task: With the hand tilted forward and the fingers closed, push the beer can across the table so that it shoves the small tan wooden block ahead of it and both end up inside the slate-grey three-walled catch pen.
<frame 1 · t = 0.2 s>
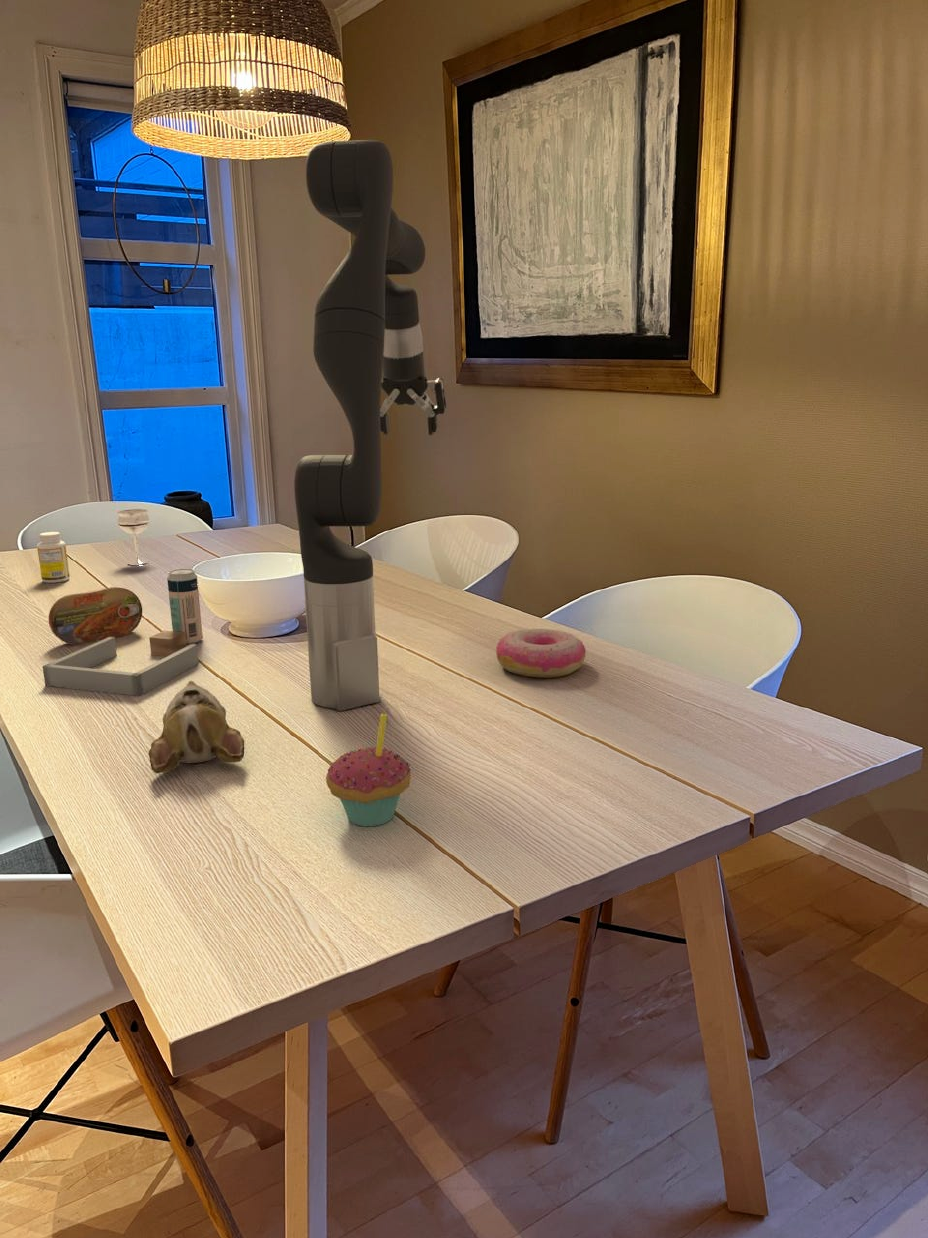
hand: (409, 433, 176), 31 cm above the table, fingers open, 8 cm apart
tin: (98, 639, 160), on the table
wineglass: (138, 564, 217), on the table
catch pen: (124, 674, 142), on the table
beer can: (188, 642, 157), on the table
cupcake: (370, 818, 97), on the table
tan wooden block: (169, 652, 152), on the table
supplement bottle: (56, 581, 202), on the table
donut: (540, 669, 142), on the table
ceramic sculpture: (198, 759, 113), on the table
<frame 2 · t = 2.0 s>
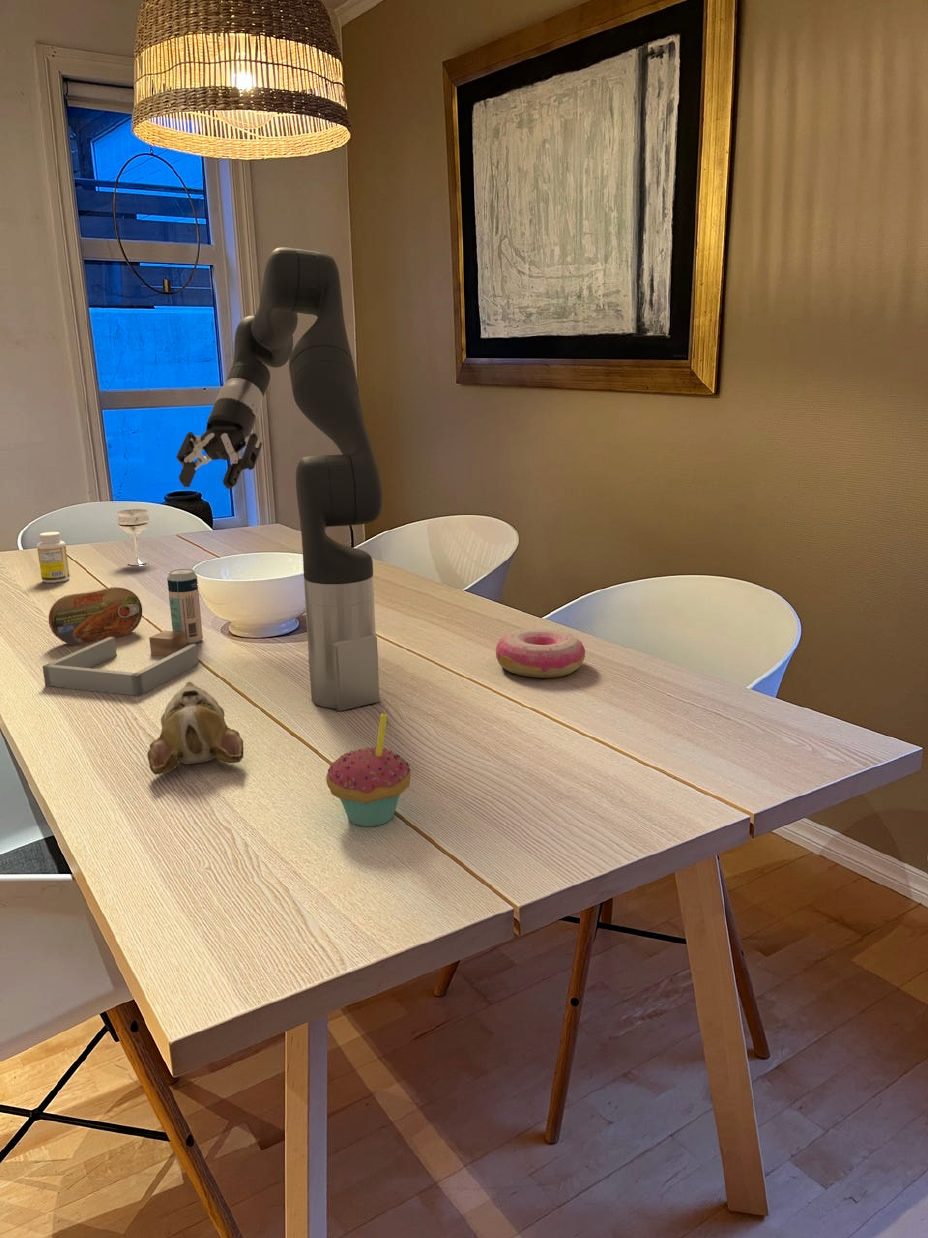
hand: (205, 485, 159), 25 cm above the table, fingers open, 8 cm apart
nothing on the table moved.
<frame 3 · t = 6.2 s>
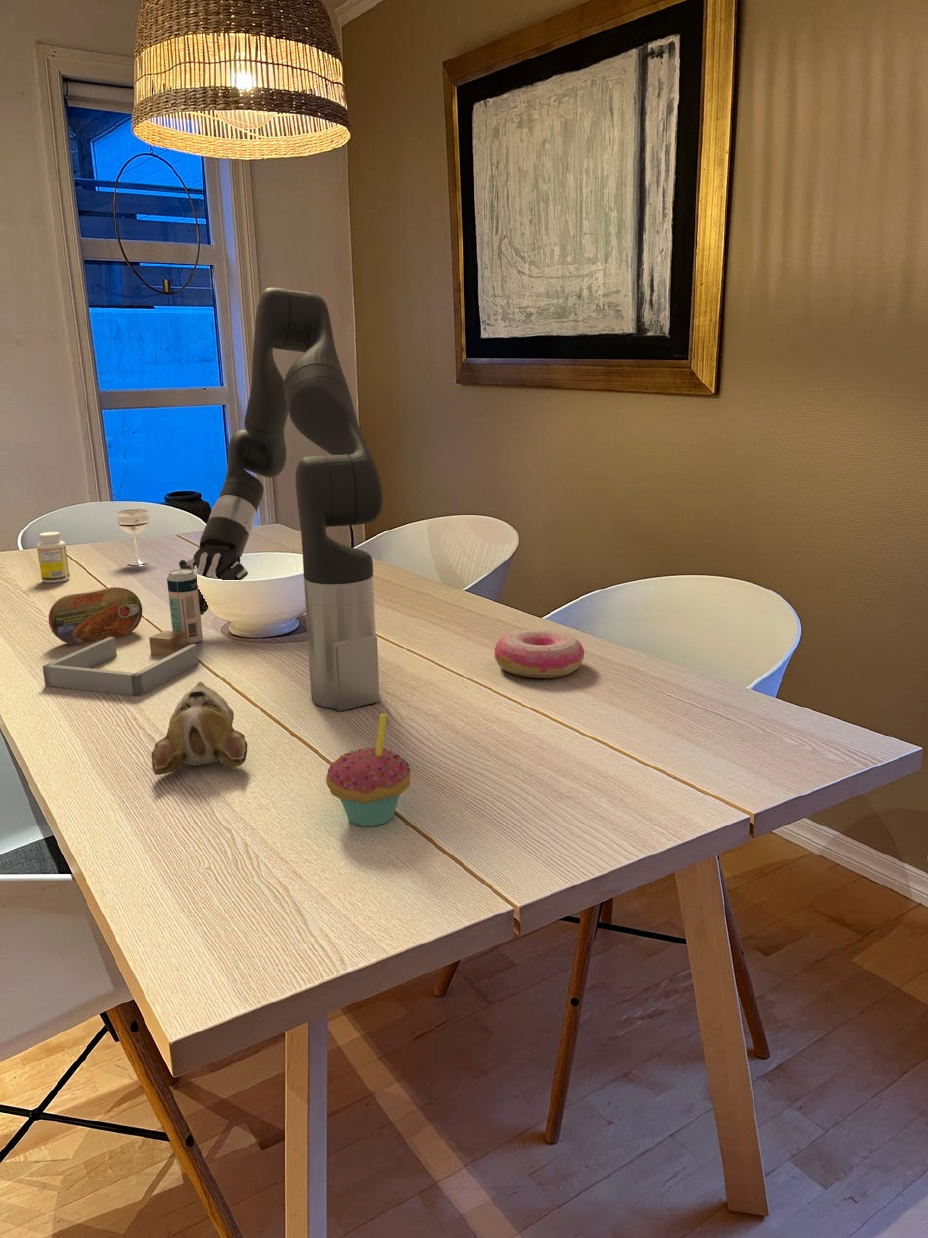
hand: (196, 612, 159), 4 cm above the table, fingers closed
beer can: (188, 642, 157), on the table, touching gripper
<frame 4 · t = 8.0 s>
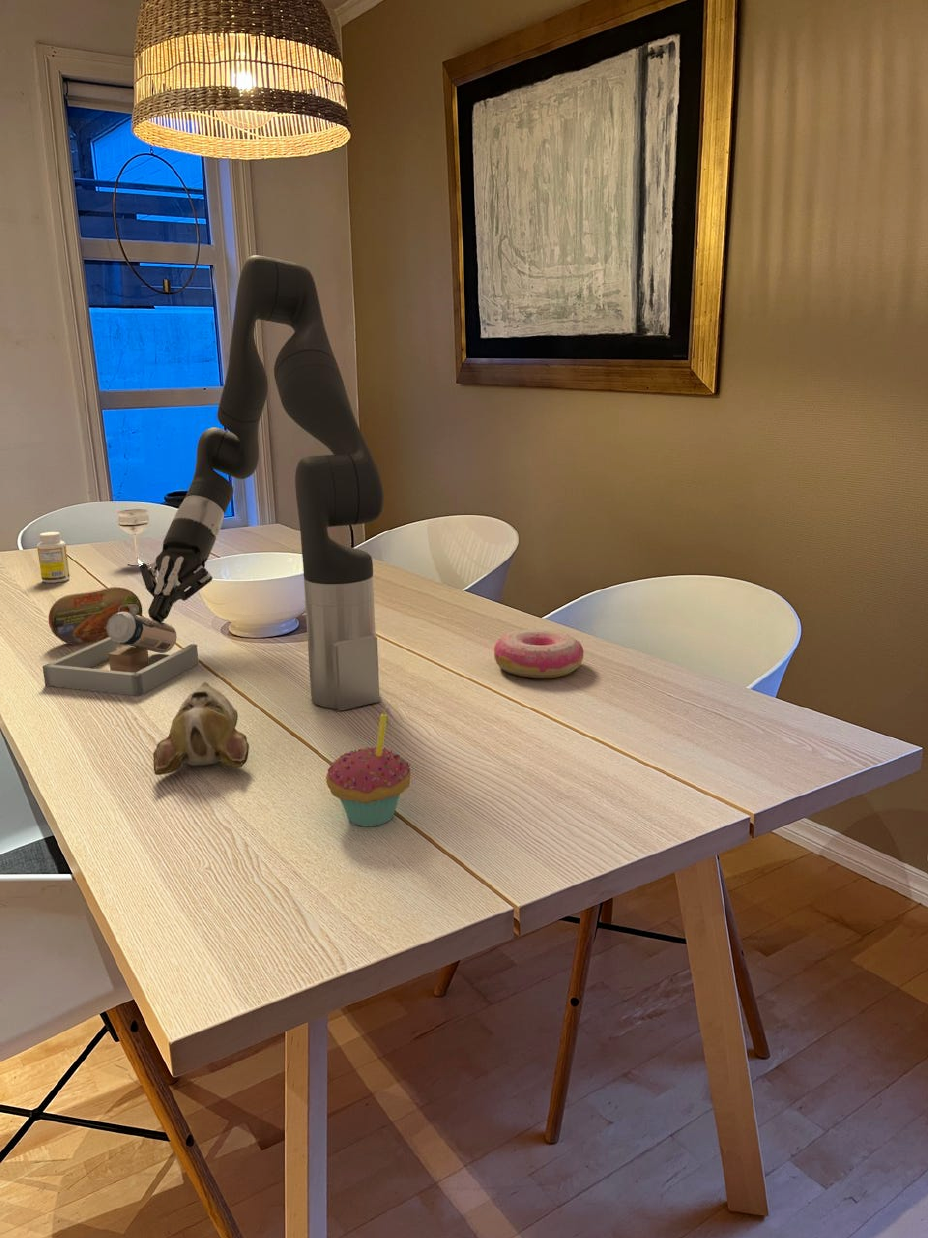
hand: (155, 619, 149), 6 cm above the table, fingers closed
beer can: (166, 638, 152), point 2 cm above the table, touching gripper, tan wooden block
tan wooden block: (130, 669, 145), on the table, touching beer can
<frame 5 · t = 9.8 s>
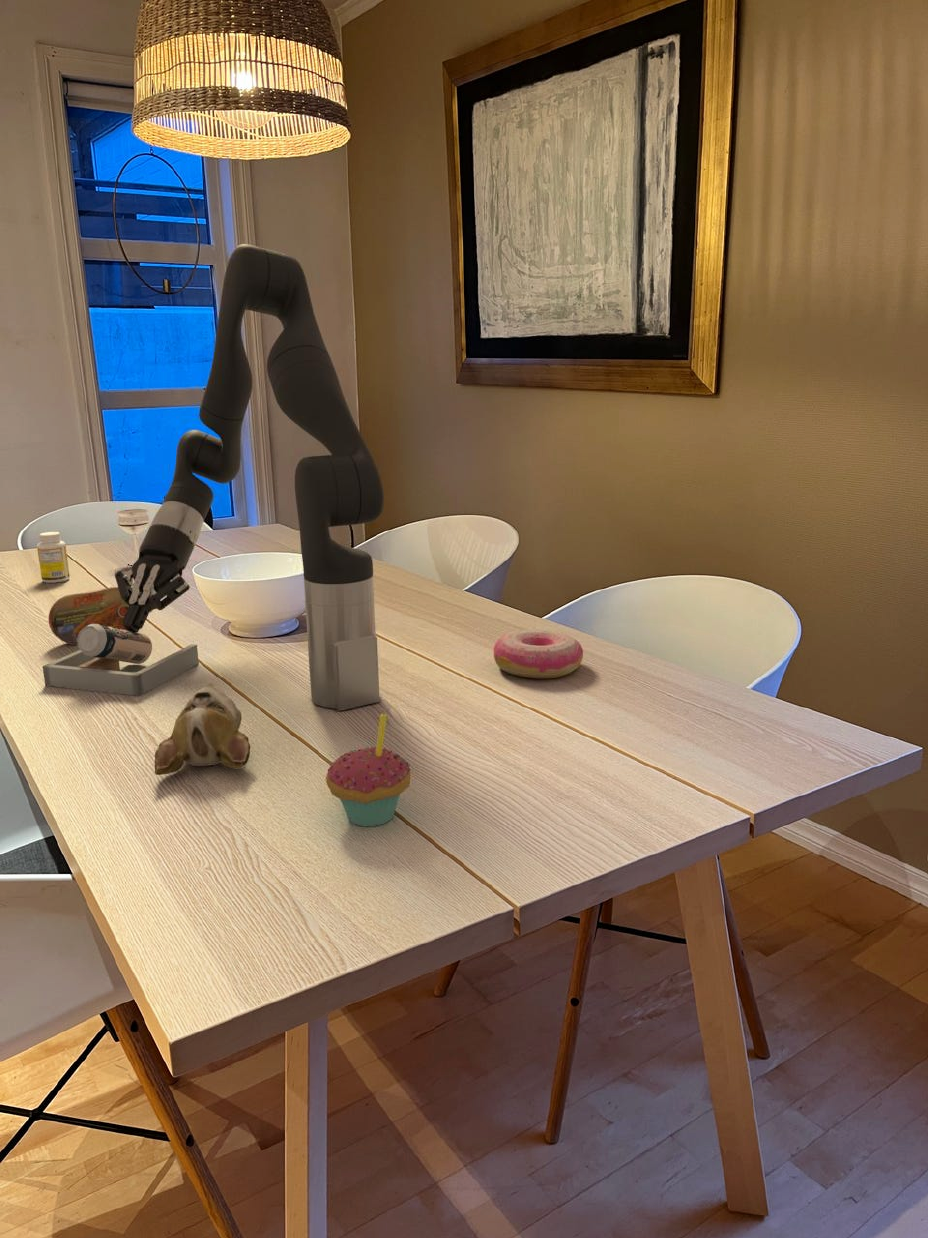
hand: (130, 629, 144), 6 cm above the table, fingers closed
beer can: (141, 649, 147), point 2 cm above the table, touching gripper, tan wooden block
tan wooden block: (100, 682, 139), on the table, touching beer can
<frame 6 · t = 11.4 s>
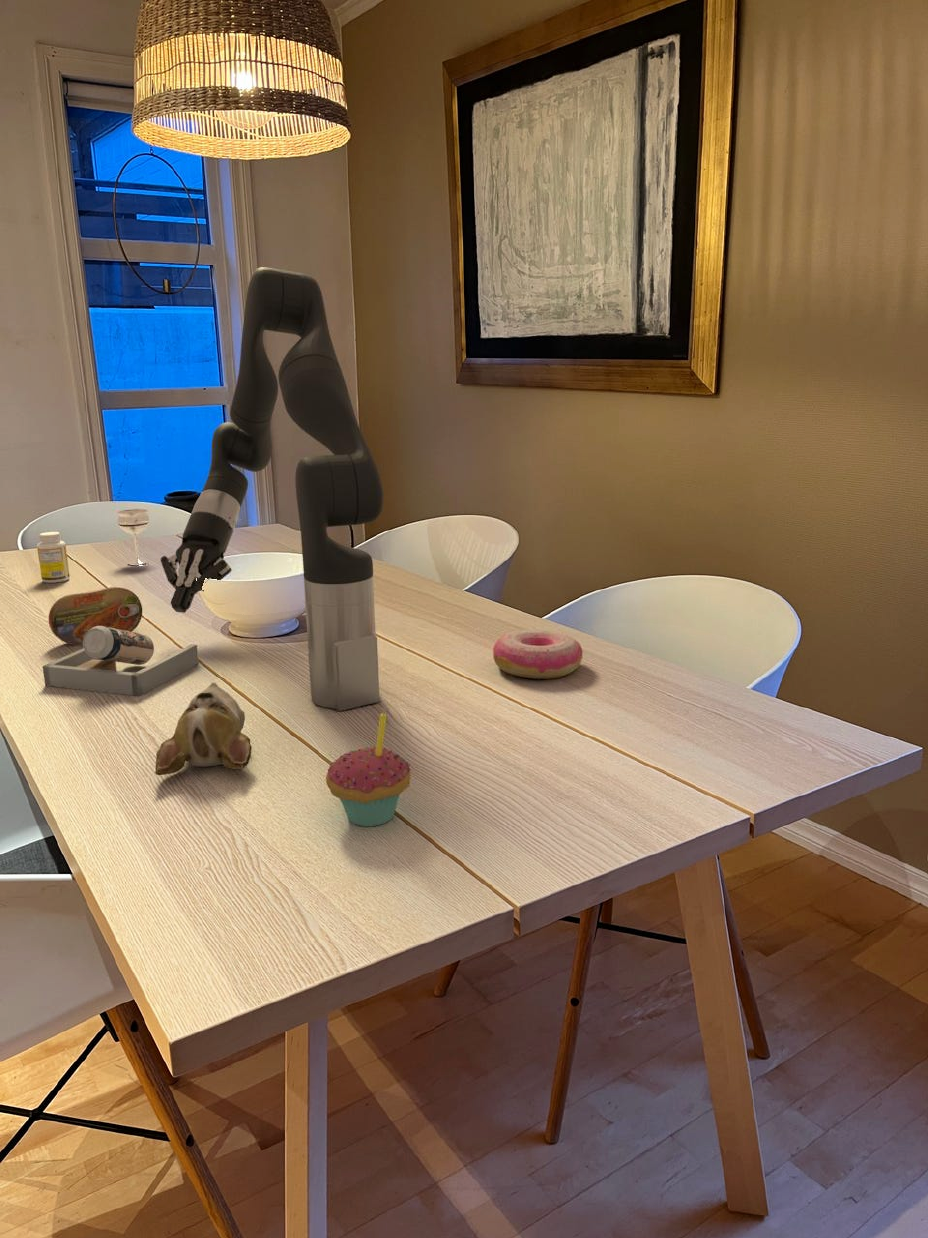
hand: (178, 610, 154), 6 cm above the table, fingers closed
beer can: (142, 649, 146), point 2 cm above the table, touching tan wooden block
tan wooden block: (97, 684, 138), on the table, touching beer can, catch pen
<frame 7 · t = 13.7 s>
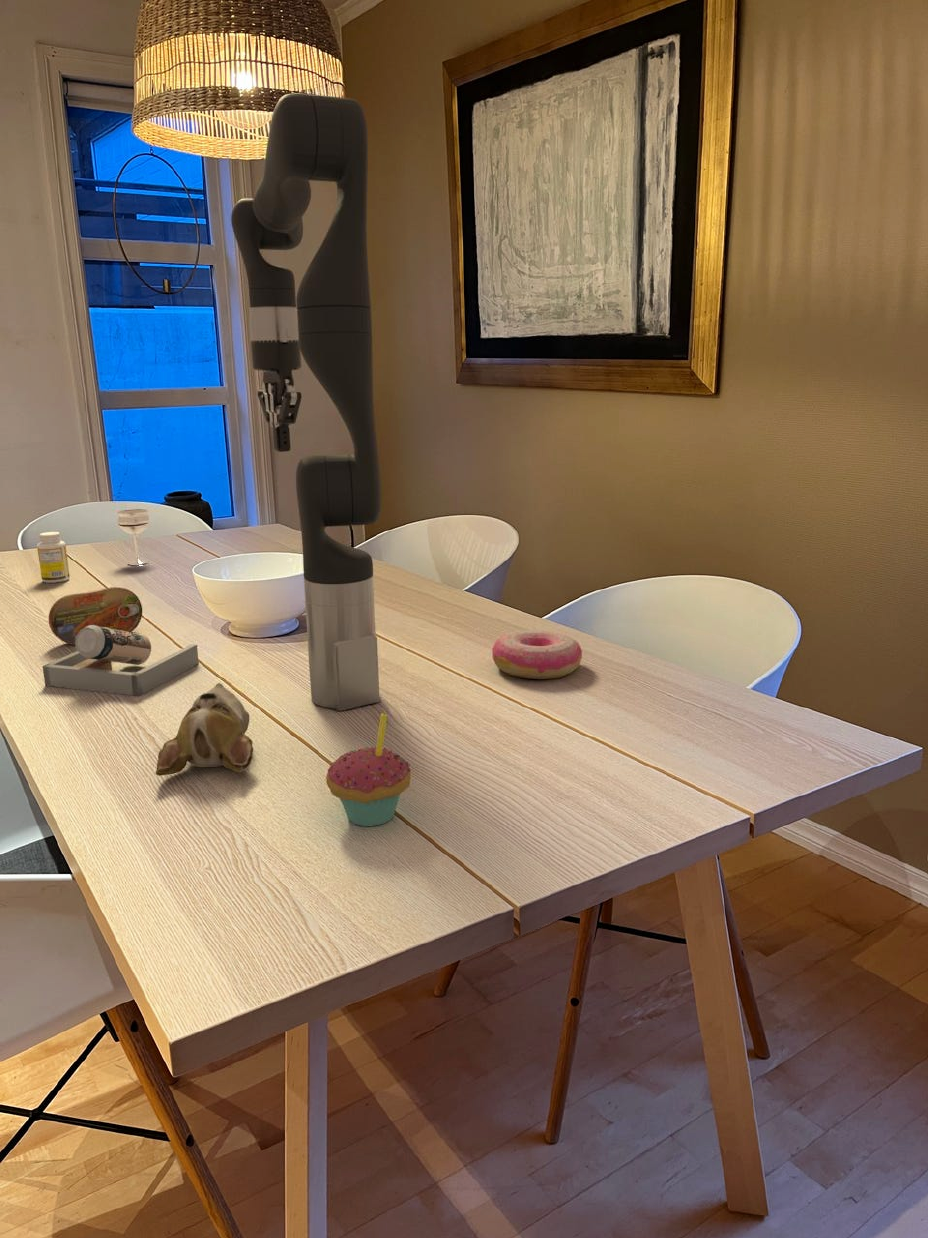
hand: (282, 451, 151), 31 cm above the table, fingers closed
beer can: (141, 650, 146), point 2 cm above the table
tan wooden block: (93, 683, 138), on the table
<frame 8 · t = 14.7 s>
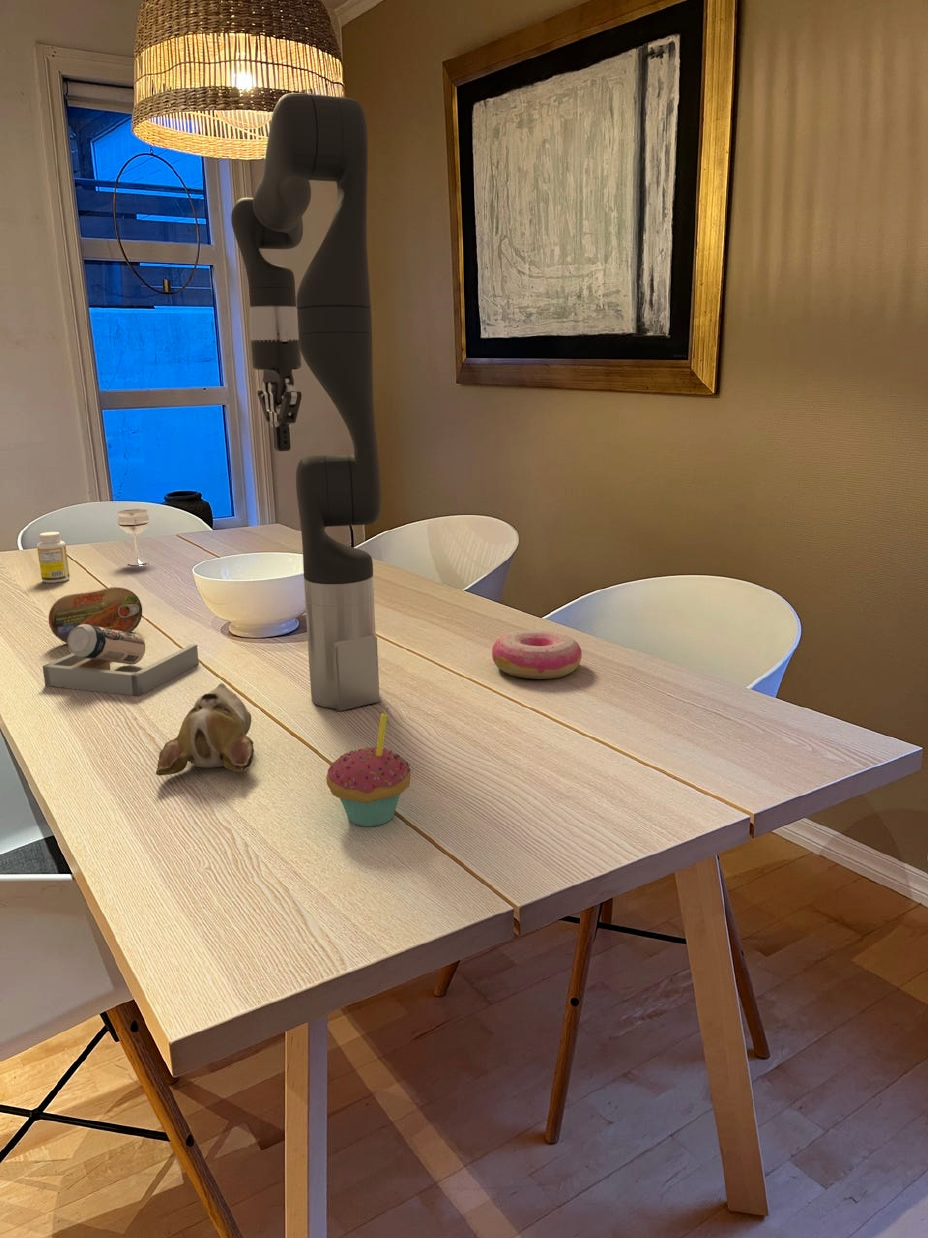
hand: (282, 450, 151), 31 cm above the table, fingers closed
at the end: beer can 5.4 cm from the catch pen (horizontally); tan wooden block 5.1 cm from the catch pen (horizontally) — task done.
